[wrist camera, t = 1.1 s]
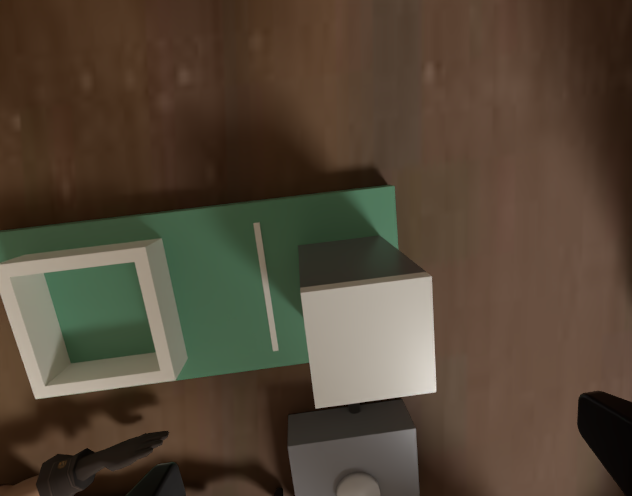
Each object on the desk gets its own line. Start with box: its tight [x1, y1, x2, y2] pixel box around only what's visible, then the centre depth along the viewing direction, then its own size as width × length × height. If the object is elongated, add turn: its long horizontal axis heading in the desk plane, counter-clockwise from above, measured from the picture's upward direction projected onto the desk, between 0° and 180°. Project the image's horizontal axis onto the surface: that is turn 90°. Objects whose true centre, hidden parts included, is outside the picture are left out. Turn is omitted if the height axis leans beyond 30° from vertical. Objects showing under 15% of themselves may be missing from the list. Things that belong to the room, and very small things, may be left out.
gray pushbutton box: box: [287, 399, 420, 496], centre depth 20 cm, size 7×11×3 cm, turn 6°
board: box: [0, 185, 398, 399], centre depth 18 cm, size 20×9×3 cm, turn 96°
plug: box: [298, 235, 436, 409], centre depth 15 cm, size 4×4×7 cm
